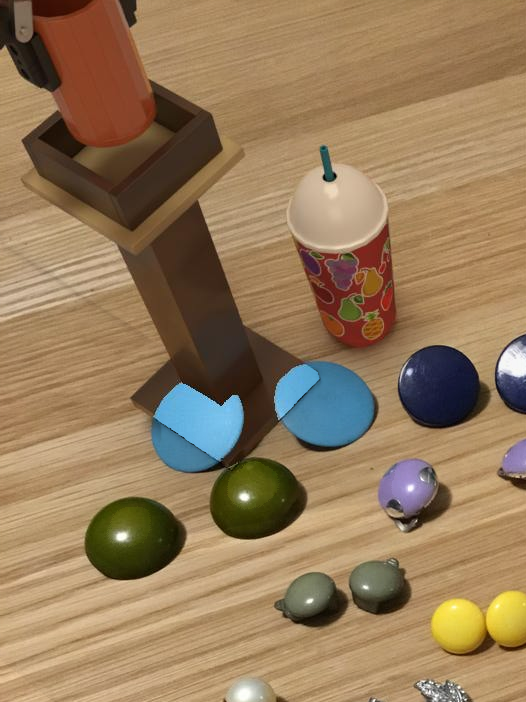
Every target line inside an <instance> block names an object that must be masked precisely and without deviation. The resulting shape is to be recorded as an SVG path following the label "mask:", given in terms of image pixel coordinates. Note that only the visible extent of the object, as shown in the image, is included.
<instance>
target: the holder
mask: <svg viewBox="0 0 526 702" xmlns="http://www.w3.org/2000/svg"><path fill="white" fill-rule="evenodd" d="M148 80H149V83H150V86H151V88H152V91H153V94H154V99H155V102H156V115H155V118H154V121H153V122H152V124H151V126H150V127H149V128H148V129H147V130H146V131H145V132H144V133H143V134H142V135H140V136H139V137H137V138H136V139H134V140H132V141H130V142H128V143H125V144H123V145H119V146H114V147H106V148H99V147H92V146H88V145H85V144H83V143H81V142H79V141H77V140H76V139H75V138H74V137H73V136H72V135H71V134H70V133H69V131H68V129H67V127H66V125H65V123H64V121H63V119H62V117H61V115H60V113H59V111H58V109H56V110H55V111H54V112H53V113H52V114H50V115H49V116H48V117H47V118H46V119H45V120H43V121H42V122H41V123H40V124H39V125H37V126H36V127H35V128H33V130H31V131H30V132H29V133H28V134H27V135H25V136H24V137H23V138H22V139H21V140H20V141H21V143H22V145H23V147H24V149H25V151H26V153H27V155H28V156H29V158H30V161H31V163H32V164H33V167H32V168H30V169H29V170H28V171H26V173H24V174H23V175H22V176H21V177H20V178H19V180H20V182H21V183H22V185H23V187H24V188H26V189H27V190H29V191H30V192H32V193H34V194H35V195H37V196H38V197H40V198H42V199H43V200H45V201H46V202H48V203H50V204H51V205H53V206H54V207H56V208H58V209H59V210H61V211H63V212H64V213H65V214H67V215H69V216H70V217H73V218H74V219H75V220H78V221H79V222H80V223H82V224H84V225H85V226H87V227H89V228H90V229H92V230H93V231H95V232H97V233H98V234H100V235H101V236H103V237H105V238H106V239H108V240H110V241H112V242H113V243H114V244H116V246H117V249H118V251H119V253H120V256H121V257H122V259H123V262H124V264H125V265H126V267H127V270H128V272H129V274H130V276H131V278H132V281H133V282H134V285H135V287H136V289H137V291H138V293H139V295H140V297H141V299H142V301H143V304H144V306H145V308H146V310H147V312H148V315H149V316H150V319H151V320H152V322H153V325H154V326H155V329H156V331H157V334H158V336H159V337H160V338H159V339H161V342H162V344H163V346H164V348H165V350H166V352H167V354H168V356H169V359H168V360H167V361H166V362H165V363H164V364H163V365H162V366H161V367H160V368H159V369H157V371H156V372H155V373H154V374H152V376H150V377H149V379H148V380H147V381H145V382H144V384H142V385H141V387H139V388H138V389H137V390H136V391H135V392H134V393H133V394H132V395H131V396H130V397H129V398H130V400H131V403H132V404H133V406H134V407H135V408H137V409H139V410H140V411H142V412H143V413H145V414H146V415H148V416H149V417H150V418H152V419H154V418H153V416H154V415H155V412H156V410H157V408H158V407H159V405H160V403H161V401H162V400H163V398H164V397H165V396H166V395H167V394H168V393H169V392H170V391H171V390H172V389H173V388H174V387H175V386H176V385H178V384H179V383H181V382H182V383H183V384H186V385H188V386H190V387H191V388H193V389H195V390H196V391H198V392H200V393H202V394H203V395H205V396H207V397H208V398H210V399H211V400H213V401H215V402H216V403H217V404H219V405H220V406H222V405H223V404H224V402H226V400H228V399H229V398H230V397H231V396H232V395H238V396H239V398H240V400H241V403H242V406H243V411H244V424H243V428H242V433H241V435H240V438H239V440H238V442H237V444H236V445H235V446H234V448H233V450H232V451H231V452H230V453H229V454H228V455H226V456H225V457H224V458H221V460H222V464H223V465H222V464H221V465H222V466H223V467H224V468H226V469H228V467H230V466H232V465H234V464H236V463H237V462H239V461H241V460H242V461H243V460H244V459H245V458H246V457H247V456H248V454H250V452H252V450H253V449H254V448H255V447H256V446H257V445H258V444H259V443H260V442H261V441H262V440H263V439H264V438H265V437H266V436H267V435H268V434H269V433H270V432H271V431H272V430H273V429H274V428H275V426H276V425H278V424H279V423H280V421H279V420H278V417H277V413H276V411H275V403H274V396H275V390H276V386H277V383H278V382H279V380H280V379H281V378H282V377H283V376H285V374H287V373H288V372H289V371H290V370H291V369H292V368H294V367H296V366H299V365H303V364H307V363H306V362H305V361H303V360H301V359H300V358H298V357H296V356H295V355H293V354H291V352H288V351H287V350H285V349H284V348H282V347H280V346H279V345H277V344H276V343H274V342H272V341H270V340H269V339H267V338H265V337H264V336H262V334H260V333H258V332H256V331H254V330H253V329H251V328H249V327H248V326H246V325H245V324H244V323H243V320H242V317H241V315H240V312H239V309H238V306H237V303H236V300H235V297H234V296H233V293H232V289H231V287H230V284H229V281H228V279H227V275H226V273H225V271H224V270H225V269H224V268H223V264H222V262H221V260H220V256H219V254H218V251H217V248H216V245H215V242H214V240H213V237H212V234H211V231H210V229H209V226H208V224H207V221H206V218H205V215H204V212H203V210H202V206H201V204H200V202H199V199H200V198H202V196H204V195H205V194H206V193H207V192H208V191H209V190H210V189H211V188H212V187H214V185H215V184H217V183H218V182H220V181H221V179H222V178H223V177H224V176H226V175H227V174H228V173H229V172H230V171H231V170H232V169H233V168H234V167H235V166H236V165H238V164H239V163H240V162H241V161H242V160H243V159H244V158H245V157H246V153H245V150H244V147H243V146H241V145H240V144H238V143H236V142H235V141H233V140H231V139H229V138H228V137H226V136H224V135H222V134H220V133H219V132H218V129H217V125H216V122H215V118H214V116H213V114H212V113H211V112H210V111H208V110H206V109H204V108H203V107H201V106H199V105H198V104H195V103H193V102H192V101H190V100H188V99H187V98H186V97H183V96H181V95H180V94H178V93H176V92H174V91H172V90H170V89H168V88H166V87H165V86H163V85H161V84H160V83H157V82H156V81H154V80H152V79H151V78H148ZM264 436H265V437H264ZM262 438H263V439H262ZM260 440H261V441H260ZM242 461H241V462H242Z"/></svg>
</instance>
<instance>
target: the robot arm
mask: <svg viewBox="0 0 526 702" xmlns="http://www.w3.org/2000/svg"><path fill="white" fill-rule="evenodd" d="M119 1H120V3H121V6H122V9H123V12H124V14H125V17H126V20H127V23H128V25H129V28H130V29H132V28H133V26H135V25H136V24H137V23H138V19H137V17H136V14H135V12H136V11H137V10H138V6H137V5H138V3H137V0H119ZM3 48H6V49H7V51H8V54H9V56H10V58H11V60H12V63H13V64H14V66H15V68H16V70H17V72H18V74H19V76H21V77H22V79H24V80H25V81H26V82H28V83H30V84H32V85H33V86H36V87H37V88H39V89H40V90H42V89H44V90H45V91H48V92H49V93H50V92H51V93H52V92H54V91H55V90H56V89H57V88H59V87H60V86H61V82H60V80H59V77H58V75H57V73H56V71H55V68H54V66H53V64H52V62H51V59H50V57H49V55H48V53H47V51H46V48H45V46H44V44H43V42H42V39H41V37H40V35H39V34H38V33H36V32H35V31H33V14H32V0H0V51H2V50H3ZM51 93H50V94H51Z"/></svg>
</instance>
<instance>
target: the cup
mask: <svg viewBox="0 0 526 702" xmlns="http://www.w3.org/2000/svg"><path fill="white" fill-rule="evenodd" d="M32 14H33V31H35V32H36V33H38V34H39V35H40V37H41V39H42V42H43V44H44V46H45V48H46V51H47V53H48V55H49V57H50V59H51V62H52V64H53V66H54V68H55V71H56V73H57V75H58V77H59V80H60V82H61V86H60V87H59V88H57V89H56V90H55V91H54V92H52V93H51V92H49V93H50V96H51V98H52V100H53V102H54V104H55V107H56V110H58V111H59V113H60V115H61V117H62V119H63V121H64V123H65V125H66V127H67V129H68V131H69V133H70V134H71V135H72V136H73V137H74V138H75V139H76V140H77V141H79V142H81V143H83V144H85V145H88V146H92V147H99V148H106V147H114V146H119V145H123V144H125V143H128V142H130V141H132V140H134V139H136V138H137V137H139V136H140V135H142V134H143V133H144V132H145V131H146V130H147V129H148V128H149V127H150V126H151V124H152V122H153V121H154V118H155V115H156V102H155V99H154V94H153V91H152V88H151V86H150V83H149V80H148V79H149V78H148V75H147V72H146V69H145V66H144V65H143V64H144V63H143V61H142V58H141V56H140V52H139V50H138V47H137V44H136V42H135V39H134V37H133V34H132V31H131V28H129V25H128V23H127V20H126V17H125V14H124V12H123V9H122V6H121V3H120V1H119V0H32Z"/></svg>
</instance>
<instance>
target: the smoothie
mask: <svg viewBox="0 0 526 702" xmlns="http://www.w3.org/2000/svg"><path fill="white" fill-rule="evenodd" d="M318 151H319V155H320V159H321V164H320V165H318V166H315V167H313V168H312V169H310V170H309V171H308V172H307V173H306V174H304V175H303V177H302V178H301V179H300V180H299V182H298V183H297V184H296V186H295V188H294V191H293V194H292V196H291V198H290V199H289V201H288V203H287V207H286V211H285V219H286V226H287V229H288V230H289V231H290V235H291V238H292V240H293V243H294V245H295V248H296V251H297V253H298V257H299V260H300V262H301V265H302V268H303V271H304V273H305V276H306V279H307V282H308V284H309V287H310V290H311V293H312V297H313V299H314V302H315V304H316V307H317V309H318V313H319V315H320V318H321V321H322V323H323V324H322V325H323V326H324V327H325V329H326V331H327V332H328V334H330V335H331V336H333V337H334V338H335V339H336V340H338V341H339V342H341V343H342V344H344V345H346V346H349V347H354V348H355V347H358V348H362V347H363V348H364V347H368V346H372V345H374V344H376V343H379V342H380V341H381V340H383V338H385V337H386V336H387V335H388V333H389V331H390V329H391V327H392V325H393V324H394V322H395V321H396V315H397V304H396V303H397V302H396V291H395V288H396V287H395V278H394V265H393V255H392V243H391V241H392V240H391V231H390V230H391V229H390V227H391V226H390V218H389V211H390V210H389V202H388V197H387V196H386V194H385V193H384V190H383V189H382V187H381V186H380V185H378V184H377V183H376V182H374V181H373V179H371V178H370V177H369V176H368V174H366V173H364V172H363V171H362V170H360V169H359V168H357V167H356V166H353V165H349V164H347V163H343V162H331V157H330V152H329V147H328V145H325V144H321V145H320V146H319V150H318Z"/></svg>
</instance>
